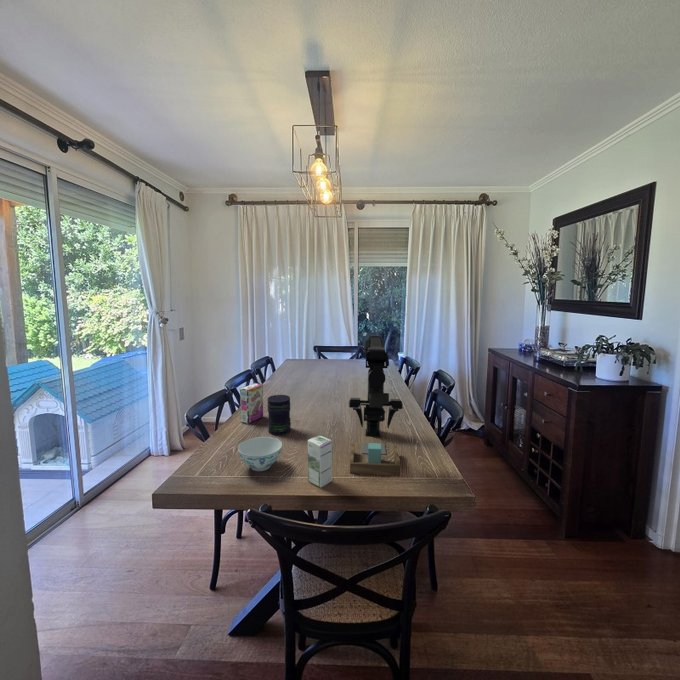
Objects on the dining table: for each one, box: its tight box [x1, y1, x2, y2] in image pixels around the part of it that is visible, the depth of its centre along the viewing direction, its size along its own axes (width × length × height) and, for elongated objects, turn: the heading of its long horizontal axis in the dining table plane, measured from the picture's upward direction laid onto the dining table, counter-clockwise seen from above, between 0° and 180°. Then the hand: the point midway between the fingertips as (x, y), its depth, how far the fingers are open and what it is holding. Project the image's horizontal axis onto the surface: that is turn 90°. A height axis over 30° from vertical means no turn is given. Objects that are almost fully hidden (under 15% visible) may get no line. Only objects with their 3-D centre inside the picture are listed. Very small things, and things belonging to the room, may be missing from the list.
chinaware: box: [237, 436, 283, 472], centre depth 124 cm, size 15×15×8 cm
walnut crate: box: [349, 443, 401, 476], centre depth 127 cm, size 15×17×4 cm
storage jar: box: [267, 394, 292, 436], centre depth 154 cm, size 10×10×15 cm
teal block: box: [367, 442, 382, 463], centre depth 128 cm, size 4×4×6 cm
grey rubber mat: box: [361, 442, 387, 456], centre depth 138 cm, size 9×9×1 cm
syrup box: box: [307, 434, 333, 489], centre depth 114 cm, size 6×6×14 cm
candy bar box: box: [239, 382, 264, 425], centre depth 167 cm, size 11×5×16 cm, turn 154°
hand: (375, 427), depth 126 cm, fingers open, 9 cm apart
